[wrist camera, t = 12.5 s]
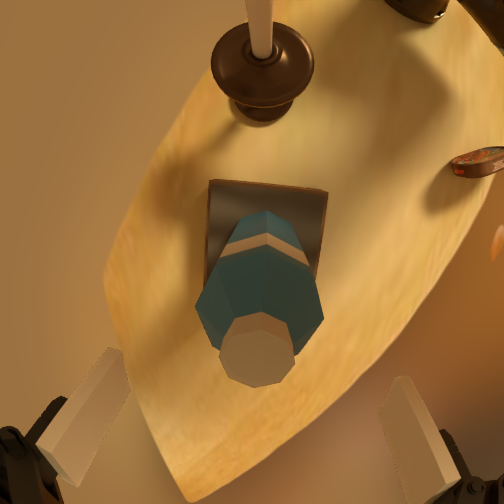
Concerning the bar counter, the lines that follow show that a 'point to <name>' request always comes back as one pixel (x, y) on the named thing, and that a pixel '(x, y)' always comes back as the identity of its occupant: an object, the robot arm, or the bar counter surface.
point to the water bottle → (260, 301)
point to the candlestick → (262, 64)
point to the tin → (479, 162)
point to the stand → (258, 200)
